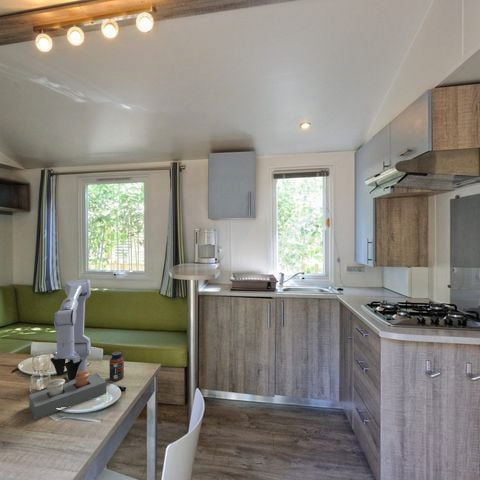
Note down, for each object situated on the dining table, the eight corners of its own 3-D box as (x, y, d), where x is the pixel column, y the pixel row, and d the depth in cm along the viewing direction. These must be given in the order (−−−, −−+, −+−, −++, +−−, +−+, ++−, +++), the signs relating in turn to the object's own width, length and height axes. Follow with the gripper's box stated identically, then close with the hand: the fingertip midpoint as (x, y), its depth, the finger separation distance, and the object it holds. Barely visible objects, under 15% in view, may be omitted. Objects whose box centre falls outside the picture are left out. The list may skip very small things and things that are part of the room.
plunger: (44, 394, 110) (44, 382, 110) (62, 388, 114) (62, 377, 114) (48, 400, 106) (48, 388, 105) (67, 393, 110) (66, 382, 110)
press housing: (35, 419, 101) (35, 407, 101) (29, 406, 108) (29, 394, 108) (106, 393, 118) (106, 382, 118) (96, 383, 125) (96, 373, 125)
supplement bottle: (118, 382, 126) (118, 356, 126) (106, 380, 128) (106, 355, 127) (126, 375, 132) (126, 351, 132) (115, 374, 133) (114, 350, 133)
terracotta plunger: (71, 385, 116) (71, 374, 116) (87, 379, 120) (87, 369, 120) (75, 390, 112) (75, 379, 112) (92, 385, 116) (92, 374, 116)
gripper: (43, 341, 110) (44, 377, 110) (66, 348, 103) (66, 386, 103) (62, 336, 116) (63, 369, 116) (84, 342, 109) (85, 378, 109)
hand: (66, 377), depth 110 cm, fingers open, 7 cm apart
